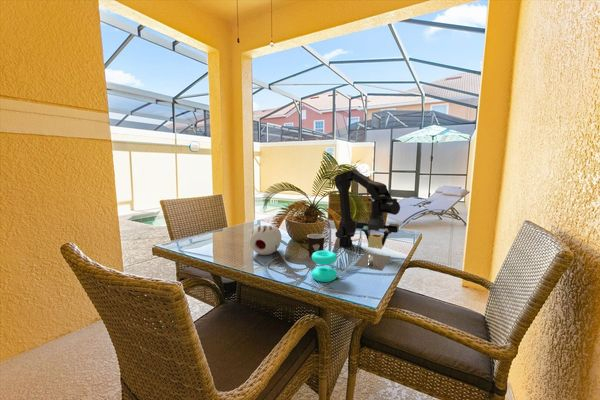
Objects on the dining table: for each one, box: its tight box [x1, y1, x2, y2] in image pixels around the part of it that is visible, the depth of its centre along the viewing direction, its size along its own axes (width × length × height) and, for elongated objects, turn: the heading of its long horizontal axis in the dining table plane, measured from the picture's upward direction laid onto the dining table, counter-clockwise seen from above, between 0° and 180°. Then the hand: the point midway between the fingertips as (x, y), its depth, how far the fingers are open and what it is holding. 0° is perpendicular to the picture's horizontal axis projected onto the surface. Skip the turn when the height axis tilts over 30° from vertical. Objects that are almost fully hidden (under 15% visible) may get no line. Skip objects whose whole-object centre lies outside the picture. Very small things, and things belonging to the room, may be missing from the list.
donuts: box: [311, 250, 338, 283], centre depth 109 cm, size 10×10×10 cm
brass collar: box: [367, 233, 384, 250], centre depth 127 cm, size 6×6×5 cm
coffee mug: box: [298, 233, 325, 258], centre depth 135 cm, size 12×9×10 cm
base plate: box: [353, 252, 391, 271], centre depth 124 cm, size 20×12×6 cm, turn 153°
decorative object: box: [249, 225, 282, 256], centre depth 139 cm, size 16×19×15 cm
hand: (376, 244), depth 128 cm, fingers closed on brass collar, 6 cm apart
